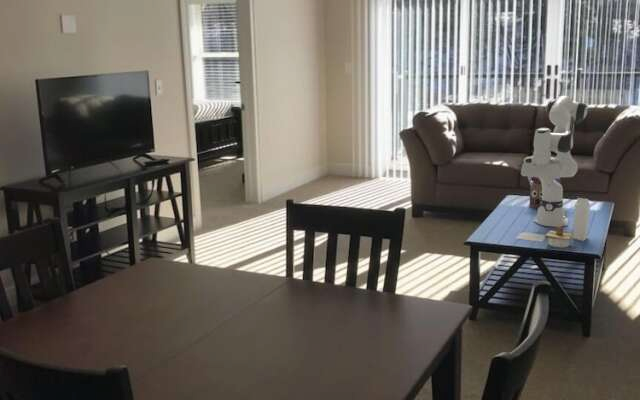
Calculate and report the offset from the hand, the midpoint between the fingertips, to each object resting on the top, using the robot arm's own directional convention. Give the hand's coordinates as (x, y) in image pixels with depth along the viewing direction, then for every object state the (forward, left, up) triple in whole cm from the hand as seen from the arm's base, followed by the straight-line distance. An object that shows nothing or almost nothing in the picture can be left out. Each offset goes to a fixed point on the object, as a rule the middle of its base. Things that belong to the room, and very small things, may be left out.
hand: (540, 185), depth 363 cm
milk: (-11, +20, -29) cm, 37 cm away
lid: (+7, +12, -24) cm, 28 cm away
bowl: (+7, +13, -29) cm, 33 cm away
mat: (-1, -3, -29) cm, 29 cm away
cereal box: (-74, -14, -29) cm, 81 cm away
